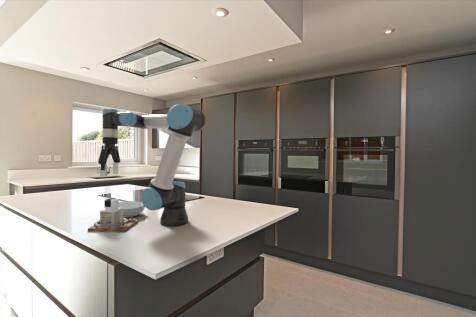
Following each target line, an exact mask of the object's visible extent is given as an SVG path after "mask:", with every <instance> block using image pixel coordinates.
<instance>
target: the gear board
mask: <svg viewBox="0 0 476 317" xmlns="http://www.w3.org/2000/svg"><path fill="white" fill-rule="evenodd" d="M138 223H139V219H136V218H134V216H131V217H130V218H123V222H121V223H119V224H115V225H100V219H98V220H97V221H95V222H93V225H92V226H90V227H88V228H87V232H90V233H91V232H98V233H99V232H101V233H102V232H105V233H107V232H109V233H125V232H127V231H128V230H129V229H131V228H132V227H134V226H135V225H136V224H138Z"/></svg>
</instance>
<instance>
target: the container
mask: <svg viewBox="0 0 476 317" xmlns="http://www.w3.org/2000/svg"><path fill="white" fill-rule="evenodd" d="M119 202H120V200H119V199H118V198H116V197H112V198H111V197H110V198H107V199H105V200H104V209H101V210H99V220H100V225H115V224H119V223H121V222H123V208H118V207H119Z"/></svg>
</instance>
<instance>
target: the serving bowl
mask: <svg viewBox="0 0 476 317" xmlns="http://www.w3.org/2000/svg"><path fill="white" fill-rule="evenodd" d="M118 208H123V218H126V219H130V218H131V216H133V217H136V216H138V215H140V214H141V213H143V211H144V210H145V208H146V207H145V206H144V205H143V202H142V201H135V200H134V201H133V200H132V201H119V207H118Z"/></svg>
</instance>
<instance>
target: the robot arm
mask: <svg viewBox="0 0 476 317" xmlns="http://www.w3.org/2000/svg"><path fill="white" fill-rule="evenodd" d="M101 117H102V131H101V133H102V145H101V148H100V153H99V157H98V161H97V162H98V164H99V165H100V177H107V175H108V174H107V173H108V172H107V171H108V169H107V167H108V166H107V164H106V163H107V161H108V160H109V156H110V155H111V158H112V160H113V163H112V174H113V175H118V174H119V163H121V157H120V152H119V146H118V142H119V138H118V136H119V127H128V128H129V127H130V128H136V129H137V128H138V129H142V130H148V129H167V130H168V132H169V135H168V137H167V141H166V143H165V146H164V149H163V152H162V153H163V154H162V156H161V158H160V159H161V160H160V163H159V165H158V168H157V170H156V174H155V177H154V178H152V179H151V180H150V182H149V185H148V186H147V187H145V188H144V189H143V190H142V191H141V194H140V198H141V199H140V200H141V202H143V205H144V206H145V208H146V209H147V210H149V211H159V210H161V209H163V211H162V213H161V217H160V219H159V220H160V221H159V222H160V225H161V226H167V227H177V226H182V225H183V226H184V225H186V224H188V223H189V215H188V212H187V209H186V183H185V182H183V181H174V179H175V175H176V173H177V169H178V167H179V163H180V160H181V158H182V155H183V152H184V149H185V147H186V143H187V142H188V139H190V138H192V136H193V133H194V132H199V131H201V130H203V129H204V128H205V126H206V123H207V117H206V115H205V113H204V112H203V111H202V109H198V108H195V107H193V106H189V105H187V104H183V103H182V104H180V103H178V104H175V105H173V106H172V107H170V108H169V109H168V111H167V113H166V114H149V115H148V114H147V115H146V114H143V115H140V114H135V113H134V112H133V111H132V112H131V111H120V112H119V111H118V109H115V108H111V107H110V108H109V107H108V108H107V107H106V108H103V110H102V116H101Z"/></svg>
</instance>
